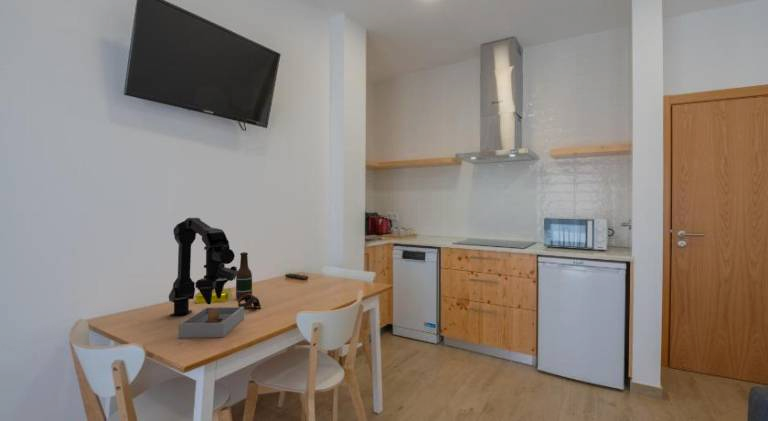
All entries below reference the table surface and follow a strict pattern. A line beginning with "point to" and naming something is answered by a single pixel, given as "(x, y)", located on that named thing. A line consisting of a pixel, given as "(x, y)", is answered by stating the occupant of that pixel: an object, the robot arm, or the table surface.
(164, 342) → the table surface
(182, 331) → the socket box
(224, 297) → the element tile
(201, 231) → the robot arm
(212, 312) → the peg
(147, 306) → the table surface
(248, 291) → the beer bottle
